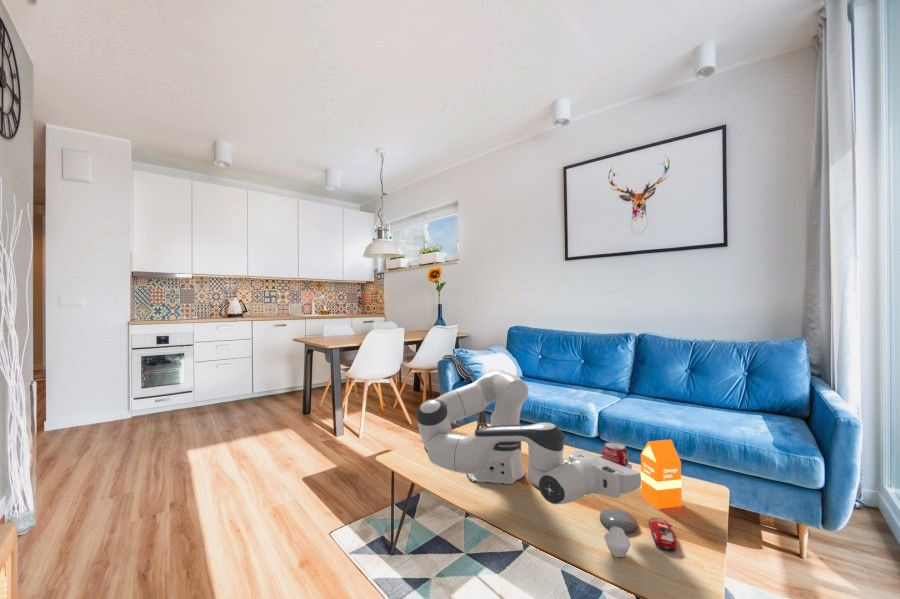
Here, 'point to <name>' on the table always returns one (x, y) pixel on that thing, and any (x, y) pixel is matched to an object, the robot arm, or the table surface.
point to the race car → (662, 534)
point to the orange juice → (661, 474)
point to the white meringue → (617, 542)
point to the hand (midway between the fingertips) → (618, 462)
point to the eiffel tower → (481, 420)
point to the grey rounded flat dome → (618, 520)
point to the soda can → (615, 453)
